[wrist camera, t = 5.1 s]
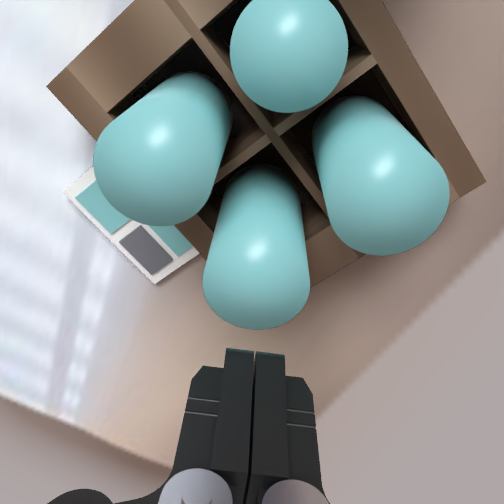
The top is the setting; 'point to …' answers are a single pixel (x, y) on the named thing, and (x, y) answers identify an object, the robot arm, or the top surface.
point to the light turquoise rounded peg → (258, 251)
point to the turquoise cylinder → (376, 178)
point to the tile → (132, 231)
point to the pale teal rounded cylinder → (165, 150)
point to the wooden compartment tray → (267, 122)
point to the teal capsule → (288, 52)
